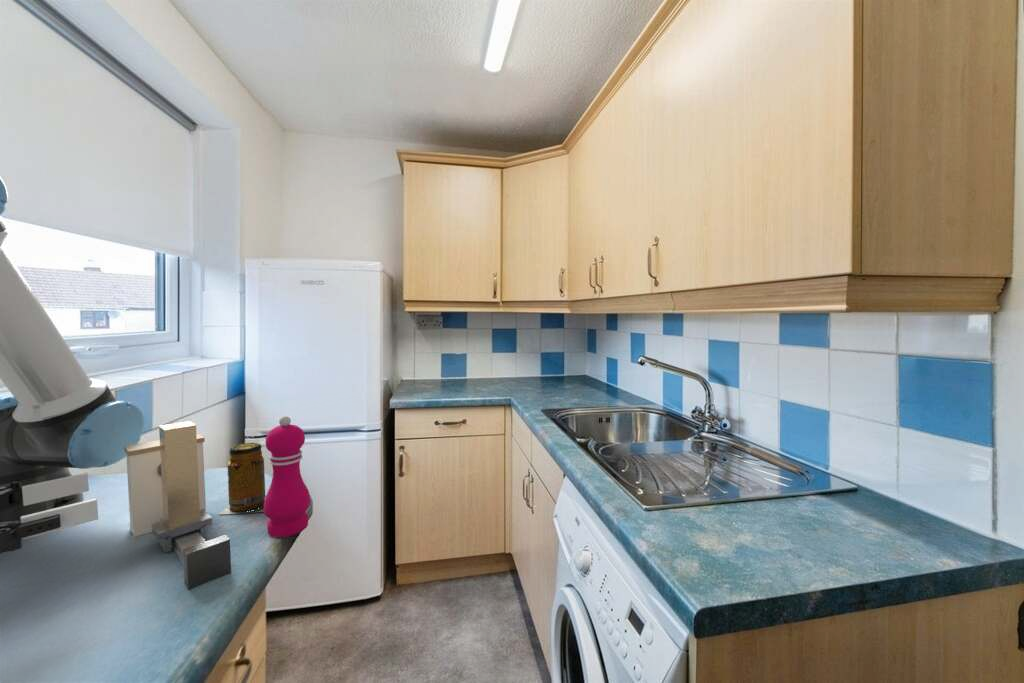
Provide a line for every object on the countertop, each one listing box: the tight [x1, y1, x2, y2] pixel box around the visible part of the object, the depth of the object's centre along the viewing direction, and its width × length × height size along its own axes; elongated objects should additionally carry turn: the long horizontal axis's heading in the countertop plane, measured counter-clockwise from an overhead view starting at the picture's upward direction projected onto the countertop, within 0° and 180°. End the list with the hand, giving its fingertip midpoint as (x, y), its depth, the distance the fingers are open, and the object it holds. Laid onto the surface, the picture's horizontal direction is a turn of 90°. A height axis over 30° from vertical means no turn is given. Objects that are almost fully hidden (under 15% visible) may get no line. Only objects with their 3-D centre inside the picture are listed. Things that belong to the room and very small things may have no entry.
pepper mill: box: [263, 415, 311, 539], centre depth 71 cm, size 7×7×20 cm
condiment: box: [218, 442, 266, 515], centre depth 80 cm, size 7×8×12 cm
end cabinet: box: [124, 432, 207, 538], centre depth 74 cm, size 5×10×15 cm, turn 140°
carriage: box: [151, 420, 213, 553], centre depth 67 cm, size 5×7×19 cm
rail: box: [161, 517, 232, 591], centre depth 65 cm, size 24×5×5 cm, turn 50°
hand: (92, 494), depth 59 cm, fingers open, 13 cm apart
